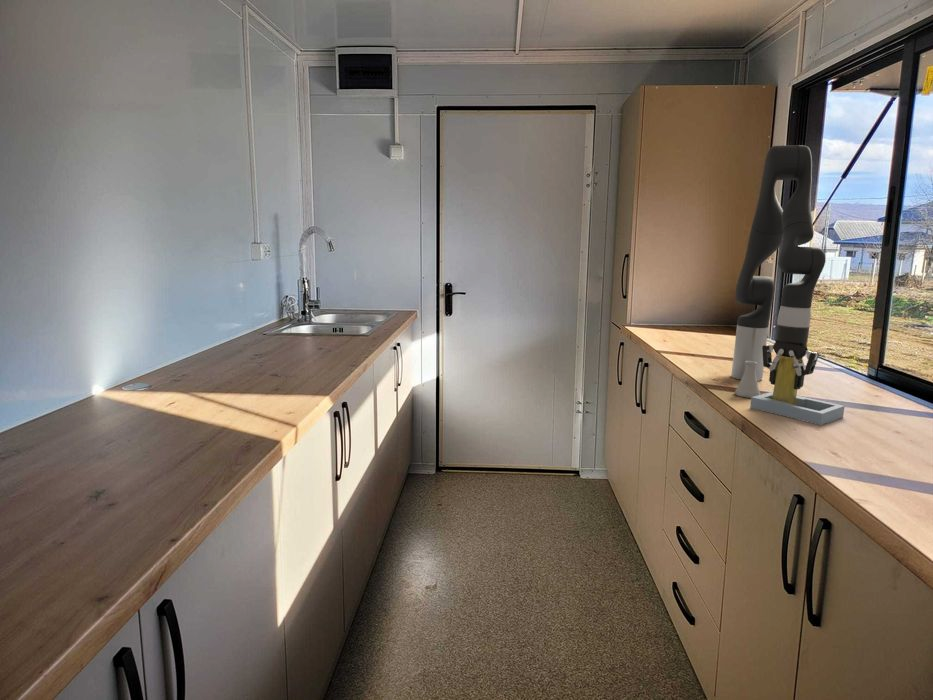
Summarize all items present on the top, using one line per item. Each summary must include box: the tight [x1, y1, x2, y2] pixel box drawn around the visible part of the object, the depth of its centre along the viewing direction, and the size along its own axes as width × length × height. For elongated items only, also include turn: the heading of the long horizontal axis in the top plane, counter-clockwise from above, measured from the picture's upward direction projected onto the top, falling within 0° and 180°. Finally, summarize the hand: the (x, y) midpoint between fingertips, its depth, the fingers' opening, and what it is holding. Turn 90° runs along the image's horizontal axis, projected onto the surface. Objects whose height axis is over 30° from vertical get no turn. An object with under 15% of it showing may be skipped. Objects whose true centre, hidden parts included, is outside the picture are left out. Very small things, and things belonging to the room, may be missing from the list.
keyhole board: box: [750, 391, 845, 426], centre depth 163 cm, size 13×18×3 cm
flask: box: [733, 361, 761, 399], centre depth 178 cm, size 7×7×10 cm
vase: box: [772, 355, 801, 405], centre depth 164 cm, size 6×6×14 cm
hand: (785, 386), depth 165 cm, fingers open, 5 cm apart
